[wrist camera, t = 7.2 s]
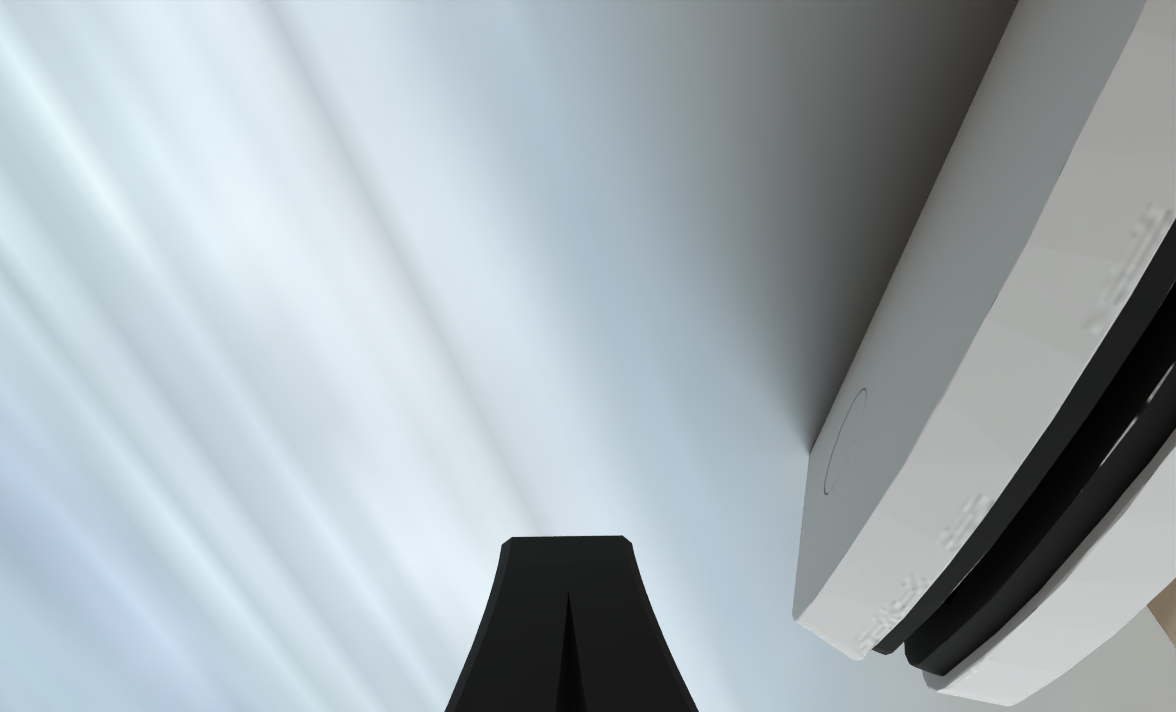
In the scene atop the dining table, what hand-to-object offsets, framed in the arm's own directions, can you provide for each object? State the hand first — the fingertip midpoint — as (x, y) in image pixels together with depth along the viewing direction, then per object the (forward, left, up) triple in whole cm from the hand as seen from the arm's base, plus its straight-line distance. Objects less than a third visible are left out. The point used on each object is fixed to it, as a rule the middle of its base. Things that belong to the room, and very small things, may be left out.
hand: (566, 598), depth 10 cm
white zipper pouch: (-9, -2, -10) cm, 13 cm away
